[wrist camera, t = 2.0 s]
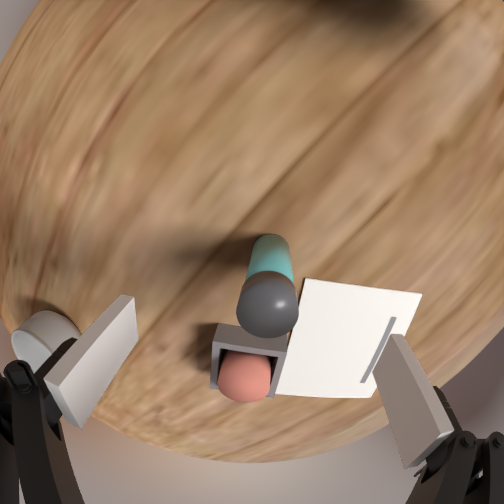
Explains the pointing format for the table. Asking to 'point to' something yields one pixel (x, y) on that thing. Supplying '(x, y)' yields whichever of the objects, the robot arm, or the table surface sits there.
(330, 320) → the paper
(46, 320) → the teacup
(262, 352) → the button housing
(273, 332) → the marker
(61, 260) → the table surface
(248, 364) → the button
